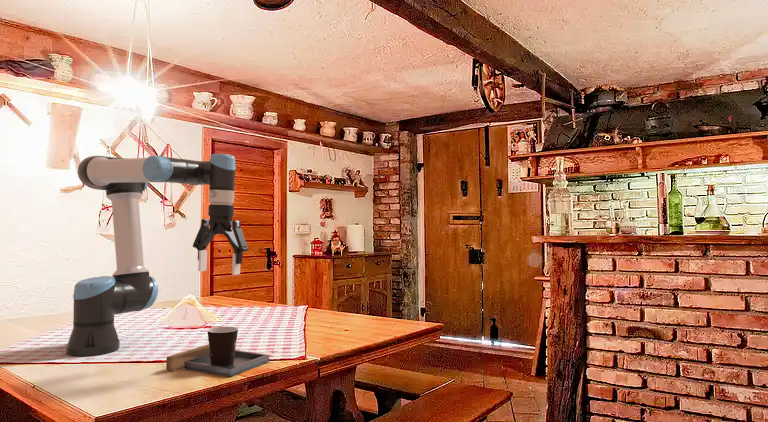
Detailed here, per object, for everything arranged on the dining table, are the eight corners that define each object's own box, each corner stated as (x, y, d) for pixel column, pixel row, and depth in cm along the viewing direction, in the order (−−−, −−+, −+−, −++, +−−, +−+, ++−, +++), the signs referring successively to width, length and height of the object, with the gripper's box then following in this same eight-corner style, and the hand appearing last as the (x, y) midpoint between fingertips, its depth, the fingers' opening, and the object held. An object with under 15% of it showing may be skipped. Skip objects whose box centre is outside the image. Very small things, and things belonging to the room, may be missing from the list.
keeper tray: (184, 369, 151) (184, 361, 151) (225, 355, 166) (225, 348, 166) (230, 377, 144) (230, 369, 144) (269, 362, 159) (269, 354, 159)
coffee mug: (228, 368, 149) (229, 333, 149) (201, 366, 151) (201, 331, 151) (247, 358, 160) (247, 325, 160) (221, 356, 162) (222, 323, 162)
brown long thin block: (166, 370, 149) (166, 356, 149) (216, 354, 167) (216, 341, 167) (172, 371, 148) (172, 357, 148) (222, 355, 166) (222, 342, 166)
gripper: (182, 202, 164) (180, 270, 164) (244, 204, 154) (242, 277, 154) (200, 203, 171) (198, 268, 171) (261, 205, 160) (258, 274, 160)
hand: (219, 272), depth 162 cm, fingers open, 13 cm apart
